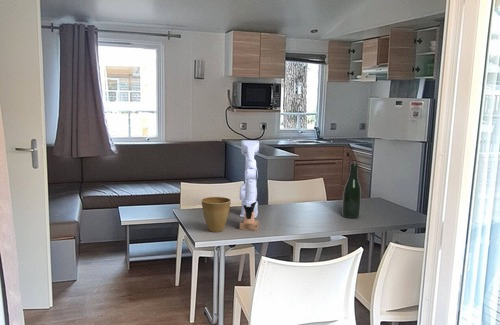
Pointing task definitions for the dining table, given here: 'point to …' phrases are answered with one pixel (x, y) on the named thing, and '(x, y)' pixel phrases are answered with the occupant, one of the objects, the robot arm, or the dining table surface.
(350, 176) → the green glass bottle
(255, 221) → the tan square slab
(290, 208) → the dining table surface
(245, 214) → the terracotta cube
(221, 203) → the plant pot
